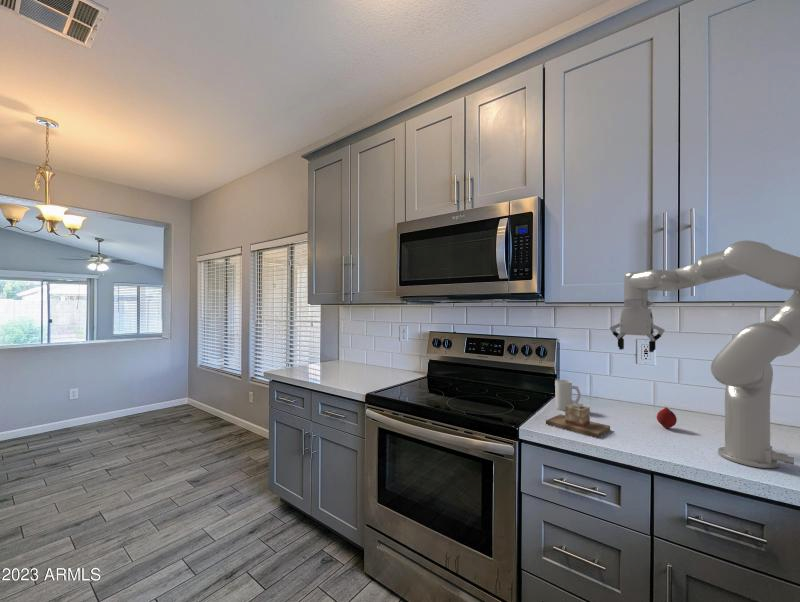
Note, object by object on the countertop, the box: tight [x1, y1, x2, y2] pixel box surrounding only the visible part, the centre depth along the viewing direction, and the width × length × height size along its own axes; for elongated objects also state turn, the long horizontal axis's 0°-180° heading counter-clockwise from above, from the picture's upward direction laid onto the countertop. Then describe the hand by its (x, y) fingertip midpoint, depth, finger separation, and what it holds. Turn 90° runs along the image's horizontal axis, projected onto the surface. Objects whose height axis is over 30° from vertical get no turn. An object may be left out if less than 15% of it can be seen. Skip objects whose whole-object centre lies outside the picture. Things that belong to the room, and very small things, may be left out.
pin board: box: [545, 413, 611, 439], centre depth 130 cm, size 18×12×2 cm, turn 41°
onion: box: [656, 405, 678, 430], centre depth 129 cm, size 6×6×8 cm
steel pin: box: [571, 402, 584, 409], centre depth 130 cm, size 3×3×7 cm
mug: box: [554, 379, 581, 412], centre depth 152 cm, size 10×7×12 cm, turn 52°
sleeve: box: [564, 404, 591, 427], centre depth 130 cm, size 6×6×6 cm
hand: (636, 350), depth 131 cm, fingers open, 9 cm apart
